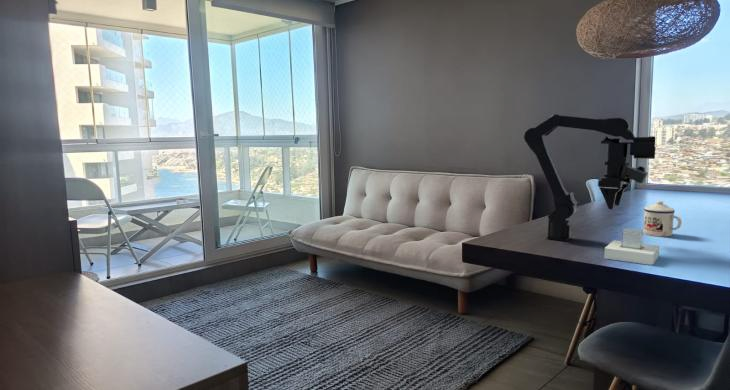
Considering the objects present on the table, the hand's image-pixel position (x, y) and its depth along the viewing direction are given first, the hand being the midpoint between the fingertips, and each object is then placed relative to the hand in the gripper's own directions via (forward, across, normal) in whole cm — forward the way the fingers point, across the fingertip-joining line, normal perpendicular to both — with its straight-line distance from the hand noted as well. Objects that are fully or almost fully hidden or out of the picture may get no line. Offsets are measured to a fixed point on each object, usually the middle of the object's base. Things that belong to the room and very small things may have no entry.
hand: (613, 207), depth 151 cm
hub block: (+12, -14, -8) cm, 20 cm away
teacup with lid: (+12, +24, -11) cm, 29 cm away
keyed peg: (+12, -14, -8) cm, 20 cm away
